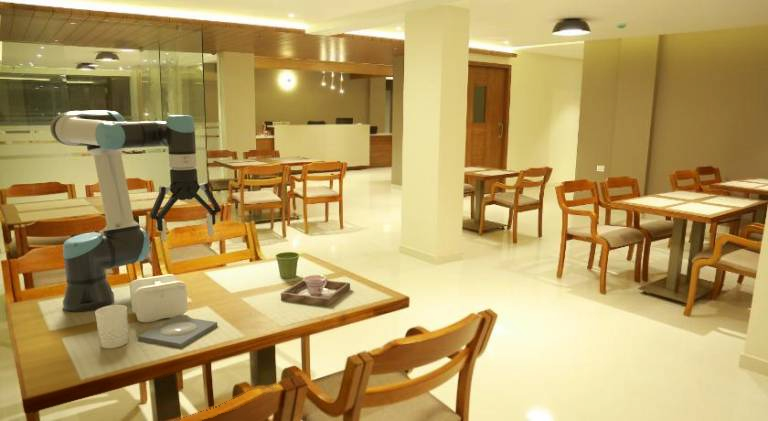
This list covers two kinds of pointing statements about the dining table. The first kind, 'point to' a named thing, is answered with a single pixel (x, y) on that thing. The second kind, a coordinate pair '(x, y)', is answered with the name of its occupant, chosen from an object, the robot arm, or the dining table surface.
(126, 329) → the white cup
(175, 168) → the robot arm
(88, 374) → the dining table surface
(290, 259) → the plant pot
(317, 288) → the teacup
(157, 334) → the slate mat
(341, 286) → the teacup tray rim
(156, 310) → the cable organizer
